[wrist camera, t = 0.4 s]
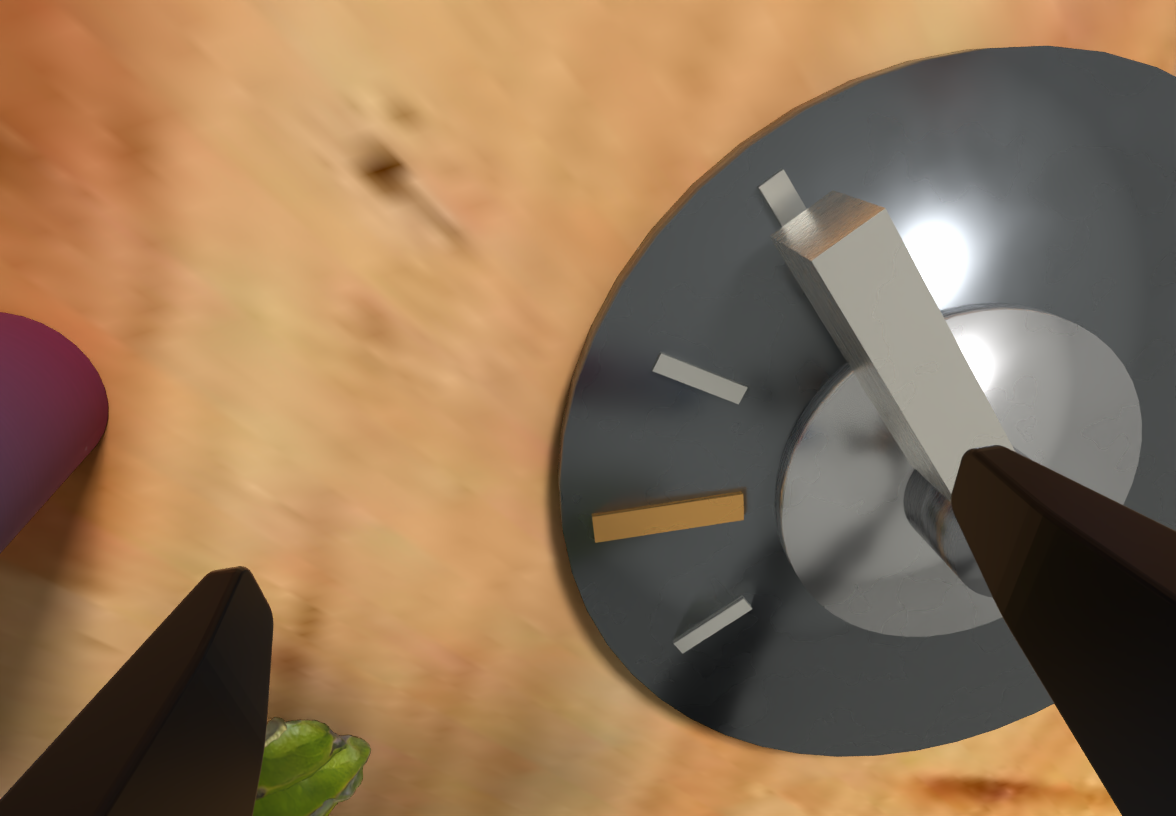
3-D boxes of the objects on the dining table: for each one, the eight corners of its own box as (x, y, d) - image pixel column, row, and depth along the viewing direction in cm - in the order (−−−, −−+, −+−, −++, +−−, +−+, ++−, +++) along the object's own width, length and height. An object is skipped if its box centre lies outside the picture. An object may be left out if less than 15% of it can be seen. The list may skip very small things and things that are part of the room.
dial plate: (1359, 500, 29) (1392, 516, 28) (793, 827, 33) (803, 852, 32) (1162, -176, 19) (1203, -192, 18) (390, 408, 23) (384, 424, 22)
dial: (1168, 497, 27) (1268, 560, 23) (873, 674, 28) (926, 757, 25) (981, 69, 20) (1082, 67, 17) (615, 336, 22) (637, 385, 18)
